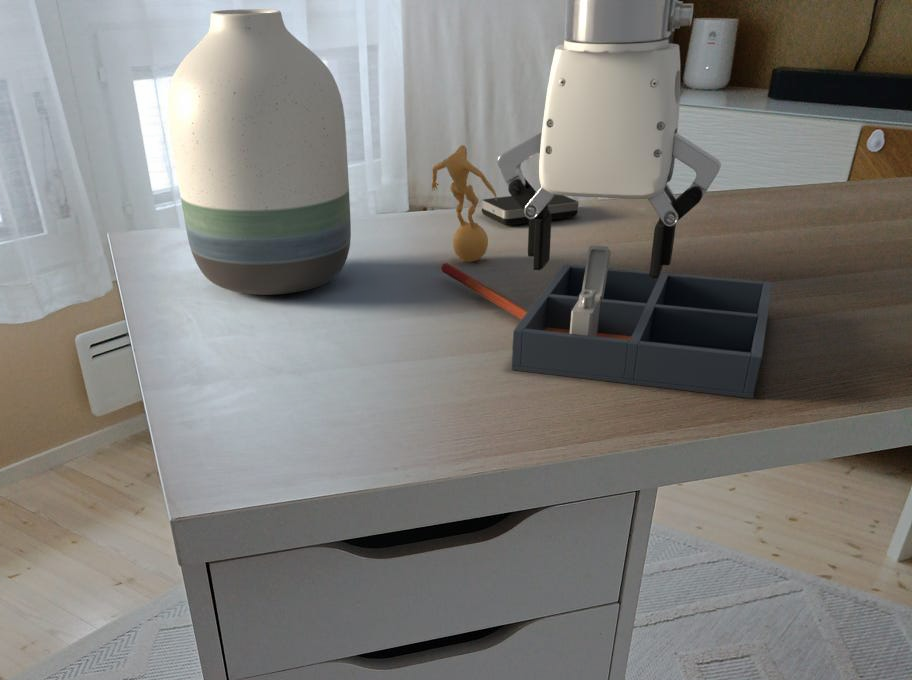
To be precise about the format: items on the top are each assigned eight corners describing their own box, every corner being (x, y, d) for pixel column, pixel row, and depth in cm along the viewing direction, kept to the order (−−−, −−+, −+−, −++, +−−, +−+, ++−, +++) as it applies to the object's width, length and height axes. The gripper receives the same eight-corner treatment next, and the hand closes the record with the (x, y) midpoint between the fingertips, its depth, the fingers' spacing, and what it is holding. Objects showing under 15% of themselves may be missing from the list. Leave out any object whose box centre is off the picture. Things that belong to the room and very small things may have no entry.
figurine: (510, 262, 103) (515, 143, 96) (481, 275, 99) (484, 153, 92) (449, 251, 107) (450, 135, 100) (419, 263, 103) (417, 144, 96)
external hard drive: (579, 218, 118) (580, 202, 117) (503, 228, 115) (504, 211, 114) (551, 207, 123) (552, 191, 122) (478, 216, 120) (479, 199, 119)
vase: (322, 252, 107) (303, 3, 92) (378, 293, 95) (366, 13, 80) (178, 271, 101) (133, 9, 87) (219, 317, 89) (174, 21, 74)
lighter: (586, 364, 78) (596, 266, 73) (566, 361, 78) (575, 264, 73) (601, 335, 83) (612, 243, 78) (583, 333, 83) (591, 241, 78)
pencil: (439, 265, 97) (446, 260, 97) (442, 274, 98) (449, 268, 98) (540, 326, 84) (549, 320, 84) (543, 335, 85) (552, 329, 85)
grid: (764, 318, 88) (772, 282, 86) (752, 398, 73) (762, 357, 71) (561, 298, 93) (563, 263, 91) (511, 370, 78) (513, 330, 76)
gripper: (745, 18, 66) (708, 263, 77) (514, 20, 71) (508, 251, 81) (738, 28, 61) (698, 291, 71) (487, 29, 65) (485, 275, 76)
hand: (597, 269), depth 76 cm, fingers open, 9 cm apart
